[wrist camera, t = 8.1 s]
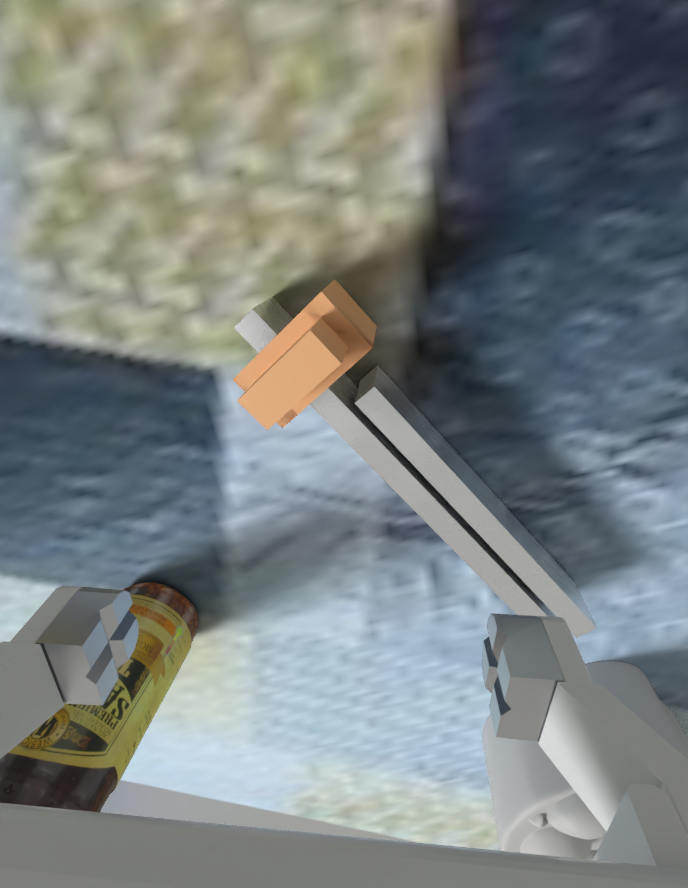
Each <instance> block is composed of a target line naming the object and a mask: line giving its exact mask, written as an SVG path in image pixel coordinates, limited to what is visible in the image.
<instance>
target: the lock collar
mask: <svg viewBox="0 0 688 888" xmlns="http://www.w3.org/2000/svg"><path fill="white" fill-rule="evenodd" d="M376 329H377V326H376V325H375V323H374V322H373V321H372V320H371V319H370V318H369V317H368V316H367V314H366V313H365V312H364V311H363V310H362V309H361V308H360V307H359V305H358V304H357V303H356V302H355V301H354V300H353V299H352V298H351V296H350V295H349V294H348V293H347V292H346V291H345V290H344V289H343V287H342V286H341V285H340V284H339V283H338V282H337V281H336V280H335V279H334V280H333V281H332V282H331V283H330V284H329V285H328V286H327V287H325V288H324V289H323V290H322V291H321V292H320V293H319V294H318V295H317V296H316V297H315V298H314V299H313V300H312V301H311V302H310V303H309V304H308V305H307V306H306V307H305V308H304V309H303V310H302V311H301V312H300V313H299V314H298V315H297V316H296V317H295V318H294V319H293V320H292V321H291V322H290V323H289V324H288V325H287V326H286V327H285V328H284V329H283V330H282V331H281V332H280V333H279V334H278V335H277V336H276V337H275V338H274V339H273V340H272V341H271V342H270V343H269V344H268V345H267V346H266V347H265V348H264V349H263V350H262V351H261V352H260V353H259V354H258V355H257V356H256V357H255V358H254V359H253V360H252V361H251V362H250V363H249V364H248V365H247V366H246V367H245V368H244V369H243V370H242V371H241V372H240V373H239V374H238V375H237V376H236V377H235V378H234V379H233V381H234V382H235V383H237V384H238V385H239V386H240V387H241V388H242V389H243V390H244V391H245V393H244V394H243V395H242V396H241V397H240V398H239V399H238V402H239V403H240V404H241V405H242V406H243V407H244V408H245V409H246V410H247V411H248V412H249V413H250V414H251V415H252V416H253V417H254V418H255V419H256V420H257V421H258V422H259V423H260V424H261V425H262V426H264V427H265V428H266V429H267V430H268V429H269V428H270V427H271V426H273V425H274V424H275V423H277V424H279V425H280V426H281V427H282V428H283V427H284V426H285V425H286V424H288V423H289V422H290V421H291V420H292V419H293V418H294V417H295V416H297V415H298V414H299V413H300V412H301V411H302V410H303V409H304V408H306V407H307V406H308V405H309V404H310V403H311V402H312V401H314V400H315V399H316V398H317V397H318V396H319V395H320V394H321V393H323V392H324V391H325V390H326V389H327V388H328V387H329V386H330V385H332V384H333V383H334V382H335V381H336V380H337V379H338V378H339V377H341V376H342V375H343V374H344V373H345V372H346V371H347V370H349V369H350V368H351V367H352V366H353V365H354V364H355V363H356V362H358V361H359V360H360V359H361V358H362V357H363V356H364V355H365V354H367V353H368V352H369V351H370V350H371V349H372V348H373V343H374V339H375V334H376Z"/></svg>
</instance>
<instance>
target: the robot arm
mask: <svg viewBox="0 0 688 888" xmlns="http://www.w3.org/2000/svg"><path fill="white" fill-rule="evenodd" d="M132 604H133V602H132V599H131V596H130V593H129V592H127V591H123V590H112V589H101V588H90V587H74V586H61V587H59V588H57V589H56V590H55V591H54V592H53V593H52V594H51V595H50V596H49V598H48V599H47V600H46V601H45V602H44V603H43V605H42V606H41V607H40V608H39V609H38V610H37V611H36V613H35V614H34V615H33V616H32V617H31V618H30V619H29V621H28V622H27V623H26V624H25V625H24V626H23V627H22V629H21V630H20V631H19V632H18V633H17V634H16V635H15V637H14V638H13V639H12V640H11V641H10V642H1V643H0V759H1V758H2V757H3V756H5V755H6V754H7V753H8V752H9V751H11V750H12V749H13V748H14V747H15V746H17V745H18V744H19V743H20V742H21V741H23V740H24V739H25V738H26V737H27V736H29V735H30V734H31V733H32V732H34V731H35V730H36V729H37V728H38V727H40V726H41V725H42V724H43V723H44V722H46V721H47V720H48V719H49V718H50V717H52V716H53V715H54V714H55V713H56V712H58V711H59V710H60V709H61V708H62V707H64V704H84V705H103V704H104V702H105V701H106V699H107V697H108V695H109V694H110V692H111V690H112V689H113V687H114V685H115V683H116V682H117V680H118V678H119V677H118V672H117V668H118V667H120V666H121V665H123V664H124V663H125V662H127V661H128V660H129V659H130V657H131V655H132V653H133V651H134V649H135V646H136V643H137V639H138V621H137V617H135V616H134V615H133V614H132V613H131V612H130V611H129V608H130V607H131V605H132ZM487 630H488V634H489V637H488V638H487V639H486V640H484V642H483V649H482V671H483V678H484V683H485V687H486V688H487V689H488V690H489V691H490V692H491V693H492V695H491V700H490V705H489V707H490V712H491V717H492V721H493V726H494V731H495V735H496V737H499V738H508V739H517V740H526V741H535V742H539V745H540V747H541V748H542V749H543V751H544V752H545V753H546V755H547V756H548V757H549V758H550V760H551V761H552V762H553V764H554V765H555V766H556V767H557V769H558V770H559V771H560V773H561V774H562V775H563V776H564V778H565V779H566V780H567V782H568V783H569V784H570V785H571V787H572V788H573V789H574V791H575V792H576V793H577V794H578V796H579V797H580V798H581V800H582V801H583V802H584V803H585V805H586V806H587V807H588V809H589V810H590V811H591V812H592V814H593V815H594V816H595V818H596V819H597V820H598V821H599V823H600V824H601V825H602V827H603V828H604V829H605V830H606V834H605V836H604V838H603V840H602V843H601V845H600V847H599V849H598V851H597V853H596V855H595V857H594V859H593V860H590V859H579V858H569V857H559V856H548V855H538V854H527V853H517V852H507V851H496V850H486V849H475V848H465V847H455V846H444V845H434V844H424V843H413V842H403V841H392V840H382V839H372V838H361V837H351V836H341V835H330V834H321V833H310V832H299V831H289V830H278V829H269V828H258V827H247V826H237V825H227V824H216V823H206V822H194V821H185V820H174V819H164V818H153V817H143V816H132V815H122V814H112V813H102V812H91V811H81V810H70V809H60V808H50V807H39V806H29V805H19V804H8V803H0V888H688V759H687V758H686V757H684V756H683V755H682V754H681V753H680V752H679V751H677V750H676V749H675V748H674V747H673V746H672V745H671V744H669V743H668V742H667V741H666V740H665V739H664V738H662V737H661V736H660V735H659V734H658V733H657V732H655V731H654V730H653V729H652V728H651V727H650V726H648V725H647V724H646V723H645V722H644V721H643V720H642V719H640V718H639V717H638V716H637V715H636V714H635V713H633V712H632V711H631V710H630V709H629V708H628V707H626V706H625V705H624V704H623V703H622V702H621V701H620V700H618V699H617V698H616V697H615V696H614V695H613V694H611V693H610V692H609V691H608V690H607V689H606V688H604V687H603V686H602V685H598V684H594V683H593V681H592V679H591V677H590V674H589V672H588V670H587V668H586V665H585V663H584V661H583V659H582V656H581V654H580V652H579V650H578V647H577V645H576V643H575V641H574V638H573V636H572V634H571V632H570V629H569V627H568V625H567V623H566V621H565V620H564V619H563V618H562V617H548V616H529V615H511V614H492V613H491V614H490V616H489V617H488V622H487Z"/></svg>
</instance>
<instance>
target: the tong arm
mask: <svg viewBox="0 0 688 888" xmlns="http://www.w3.org/2000/svg"><path fill="white" fill-rule="evenodd" d="M355 404H356V405H357V406H358V407H359V408H360V409H361V411H362V412H363V413H364V414H365V415H366V416H367V417H368V418H369V419H370V420H371V421H372V422H373V423H374V424H375V425H376V426H377V427H378V428H379V430H380V431H381V432H382V433H383V434H384V435H385V436H386V437H387V438H388V439H389V440H390V441H391V442H392V443H393V444H394V445H395V446H396V448H397V449H398V450H399V451H400V452H401V453H402V454H403V455H404V456H405V457H406V458H407V459H408V460H409V461H410V462H411V463H412V464H413V465H414V467H415V468H416V469H417V470H418V471H419V472H420V473H421V474H422V475H423V476H424V477H425V478H426V479H427V480H428V481H429V482H430V483H431V484H432V486H433V487H434V488H435V489H436V490H437V491H438V492H439V493H440V494H441V495H442V496H443V497H444V498H445V499H446V500H447V501H448V502H449V503H450V505H451V506H452V507H453V508H454V509H455V510H456V511H457V512H458V513H459V514H460V515H461V516H462V517H463V518H464V519H465V520H466V521H467V522H468V524H469V525H470V526H471V527H472V528H473V529H474V530H475V531H476V532H477V533H478V534H479V535H480V536H481V537H482V538H483V539H484V540H485V542H486V543H487V544H488V545H489V546H490V547H491V548H492V549H493V550H494V551H495V552H496V553H497V554H498V555H499V556H500V557H501V558H502V559H503V561H504V562H505V563H506V564H507V565H508V566H509V567H510V568H511V569H512V570H513V571H514V572H515V573H516V574H517V575H518V576H519V577H520V578H521V580H522V581H523V582H524V583H525V584H526V585H527V586H528V587H529V588H530V589H531V590H532V591H533V592H534V593H535V594H536V595H537V596H538V597H539V599H540V600H541V601H542V602H543V603H544V604H545V605H546V606H547V607H548V608H549V609H550V610H551V611H552V612H553V613H554V614H555V615H556V616H557V617H562V618H563V619H564V620H565V621H566V623H567V625H568V627H569V629H570V631H571V632H572V633H573V634H574V635H575V637H576V638H577V637H580V636H582V635H584V634H586V633H588V632H590V631H592V630H594V629H596V628H597V627H596V625H595V623H594V621H593V619H592V617H591V615H590V613H589V611H588V609H587V607H586V604H585V602H584V600H583V598H582V596H581V594H580V592H579V590H578V588H577V586H576V584H575V582H574V581H573V580H572V579H571V578H570V577H569V576H568V575H567V574H566V572H565V571H564V570H563V569H562V568H561V567H560V566H559V565H558V564H557V563H556V561H555V560H554V559H553V558H552V557H551V556H550V555H549V554H548V553H547V551H546V550H545V549H544V548H543V547H542V546H541V545H540V544H539V543H538V542H537V540H536V539H535V538H534V537H533V536H532V535H531V534H530V533H529V532H528V530H527V529H526V528H525V527H524V526H523V525H522V524H521V523H520V522H519V521H518V519H517V518H516V517H515V516H514V515H513V514H512V513H511V512H510V511H509V509H508V508H507V507H506V506H505V505H504V504H503V503H502V502H501V501H500V500H499V498H498V497H497V496H496V495H495V494H494V493H493V492H492V491H491V490H490V488H489V487H488V486H487V485H486V484H485V483H484V482H483V481H482V480H481V479H480V477H479V476H478V475H477V474H476V473H475V472H474V471H473V470H472V469H471V467H470V466H469V465H468V464H467V463H466V462H465V461H464V460H463V459H462V458H461V456H460V455H459V454H458V453H457V452H456V451H455V450H454V449H453V448H452V446H451V445H450V444H449V443H448V442H447V441H446V440H445V439H444V438H443V437H442V435H441V434H440V433H439V432H438V431H437V430H436V429H435V428H434V427H433V425H432V424H431V423H430V422H429V421H428V420H427V419H426V418H425V417H424V416H423V414H422V413H421V412H420V411H419V410H418V409H417V408H416V407H415V406H414V404H413V403H412V402H411V401H410V400H409V399H408V398H407V397H406V396H405V395H404V393H403V392H402V391H401V390H400V389H399V388H398V387H397V386H396V385H395V383H394V382H393V381H392V380H391V379H390V378H389V377H388V376H387V375H386V374H385V372H384V371H383V370H382V369H381V368H380V367H379V366H378V365H377V366H376V367H375V368H374V369H372V370H371V371H370V372H369V373H368V374H367V375H365V376H364V377H363V378H362V379H361V380H360V383H359V388H358V392H357V396H356V400H355Z"/></svg>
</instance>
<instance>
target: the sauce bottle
mask: <svg viewBox="0 0 688 888" xmlns="http://www.w3.org/2000/svg"><path fill="white" fill-rule="evenodd" d="M123 591H127V592H129V593H130V596H131V599H132V602H133V604H132V605H131V607H130V608H129V611H130V612H131V613H132V614H133V615H134V616H135V617H137V621H138V639H137V643H136V646H135V649H134V651H133V653H132V655H131V657H130V659H129V660H128V661H127V662H125V663H124V664H123V665H121V666H120V667H118V668H117V672H118V677H119V678H118V680H117V682H116V683H115V685H114V687H113V689H112V690H111V692H110V694H109V695H108V697H107V699H106V701H105V702H104V704H103V705H84V704H64V707H62V708H61V709H60V710H59V711H58V712H56V713H55V714H54V715H53V716H52V717H50V718H49V719H48V720H47V721H46V722H44V723H43V724H42V725H41V726H40V727H38V728H37V729H36V730H35V731H34V732H32V733H31V734H30V735H29V736H27V737H26V738H25V739H24V740H23V741H21V742H20V743H19V744H18V745H17V746H15V747H14V748H13V749H12V750H11V751H9V752H8V753H7V754H6V755H5V756H3V757H2V758H1V759H0V803H8V804H19V805H29V806H39V807H50V808H60V809H70V810H81V811H91V812H100V811H101V808H102V806H103V805H104V803H105V801H106V799H107V798H108V797H109V795H110V794H111V793H112V792H113V791H114V789H115V788H116V786H117V784H118V783H119V781H120V779H121V777H122V775H123V773H124V771H125V770H126V768H127V766H128V764H129V762H130V760H131V758H132V757H133V755H134V753H135V751H136V749H137V747H138V745H139V743H140V741H141V740H142V738H143V736H144V734H145V732H146V730H147V728H148V726H149V725H150V723H151V721H152V719H153V717H154V715H155V713H156V712H157V710H158V708H159V706H160V704H161V702H162V701H163V699H164V697H165V695H166V693H167V691H168V690H169V688H170V686H171V684H172V682H173V680H174V679H175V677H176V675H177V673H178V671H179V669H180V667H181V665H182V664H183V662H184V660H185V658H186V656H187V654H188V652H189V650H190V648H191V643H192V641H193V639H194V637H195V635H196V632H197V628H198V624H199V623H198V616H197V612H196V610H195V607H194V606H193V604H192V603H191V602H190V601H189V600H188V599H187V598H186V597H185V596H184V595H182V594H180V593H179V592H178V591H176V590H175V589H173V588H171V587H168V586H165V585H164V584H158V583H156V582H151V583H150V582H145V583H139V584H134V585H133V586H130V587H128V588H125V589H124V590H123Z"/></svg>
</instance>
